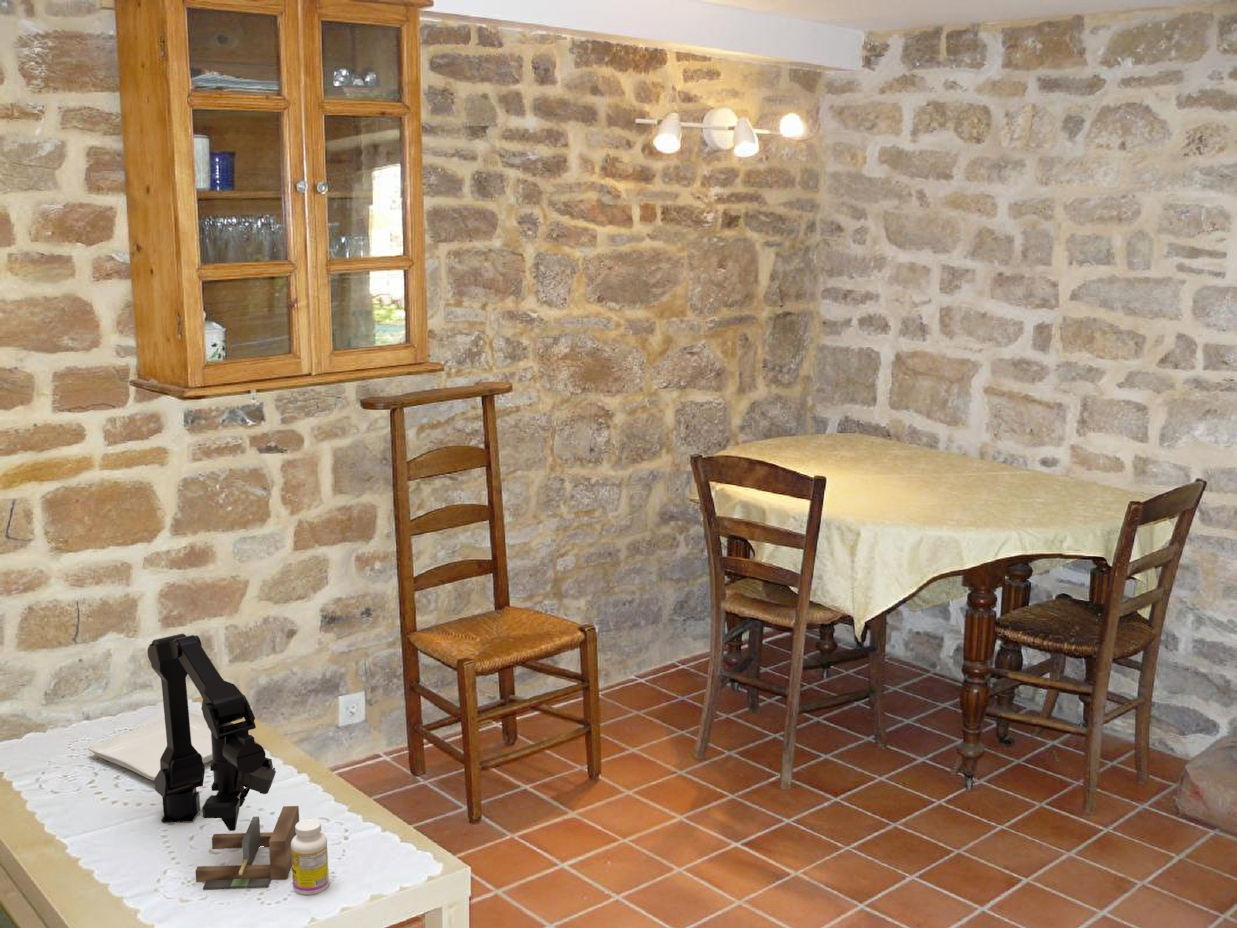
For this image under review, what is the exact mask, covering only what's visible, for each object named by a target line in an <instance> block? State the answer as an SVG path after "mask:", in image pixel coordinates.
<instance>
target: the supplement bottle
mask: <svg viewBox="0 0 1237 928" xmlns="http://www.w3.org/2000/svg"><path fill="white" fill-rule="evenodd" d="M295 832H296V834H297V835H296V836H294V838H293V839H292V841H291V858H292V867H291V872H292V873H291V875H292V889H294V891H295V892H296V893H298V894H300V895H305V896H306V895H309V896H310V895H316V894H318V893H321V892H323V891H324V890H326V888H327V887H328V886H329V883H330V878H329V877H330V876H329V875H330V874H329V872H330V871H329V855H328V838H327V836H326V834H325V833H323V832H322V823H321V821H320V820H318V819H316V818H307V819H302V820H299V822H298V823H297V824H296V825H295Z"/></svg>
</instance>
